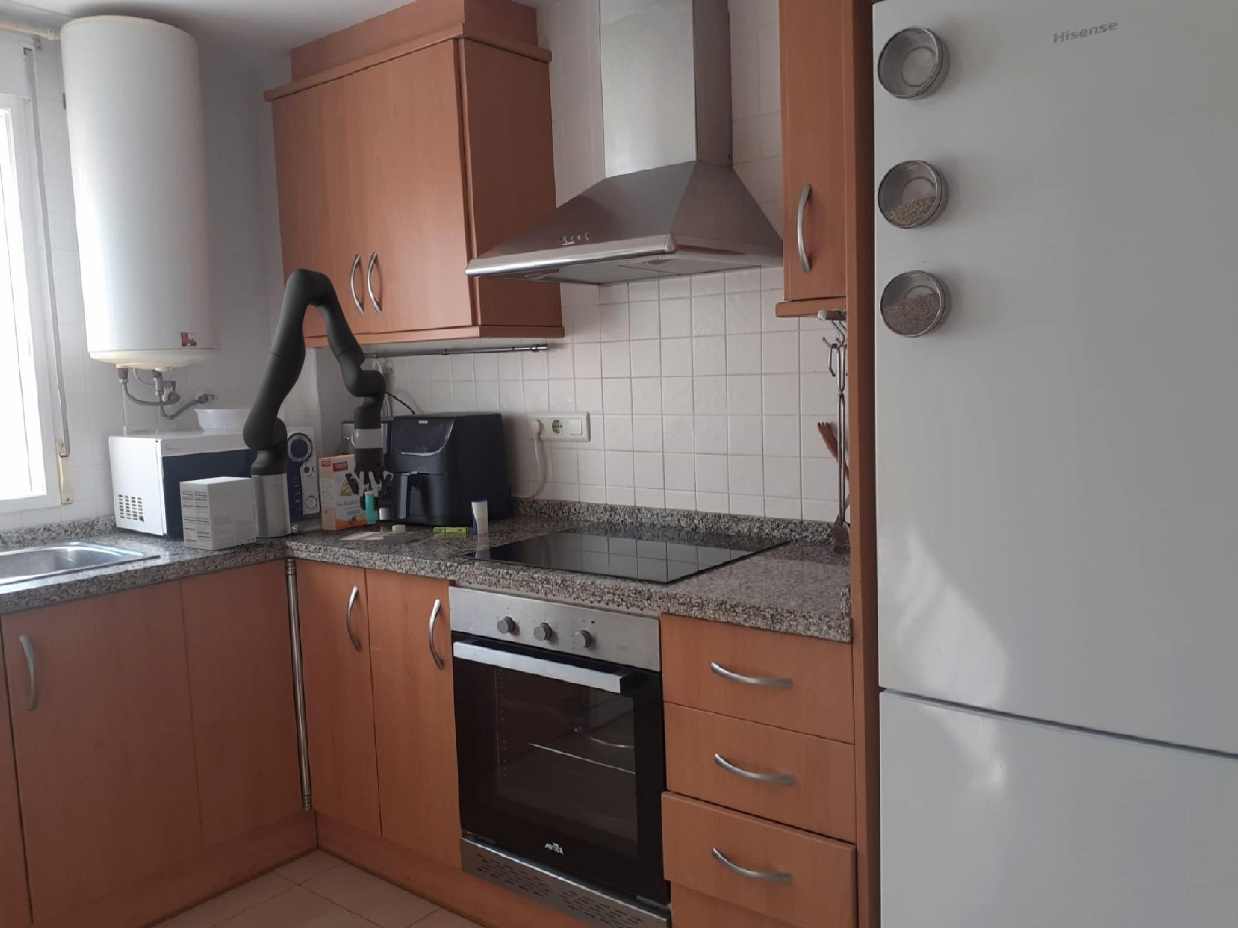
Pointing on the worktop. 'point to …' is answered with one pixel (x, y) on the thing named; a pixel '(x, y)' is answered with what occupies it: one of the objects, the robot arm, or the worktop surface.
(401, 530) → the button
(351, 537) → the framed whiteboard
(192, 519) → the supplement box
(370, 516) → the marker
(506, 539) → the worktop surface
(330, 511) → the cracker box
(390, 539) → the button housing
